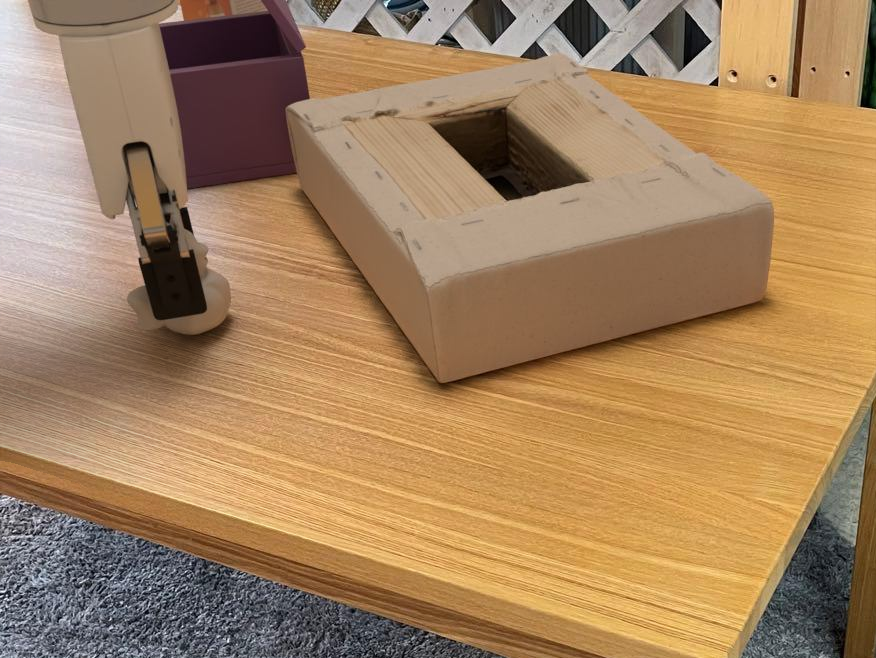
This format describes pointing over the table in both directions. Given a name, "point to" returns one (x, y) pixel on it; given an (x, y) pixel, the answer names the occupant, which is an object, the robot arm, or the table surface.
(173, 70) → the box
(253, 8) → the small box
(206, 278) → the rubber duck
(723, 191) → the box
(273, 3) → the lid
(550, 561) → the table surface
